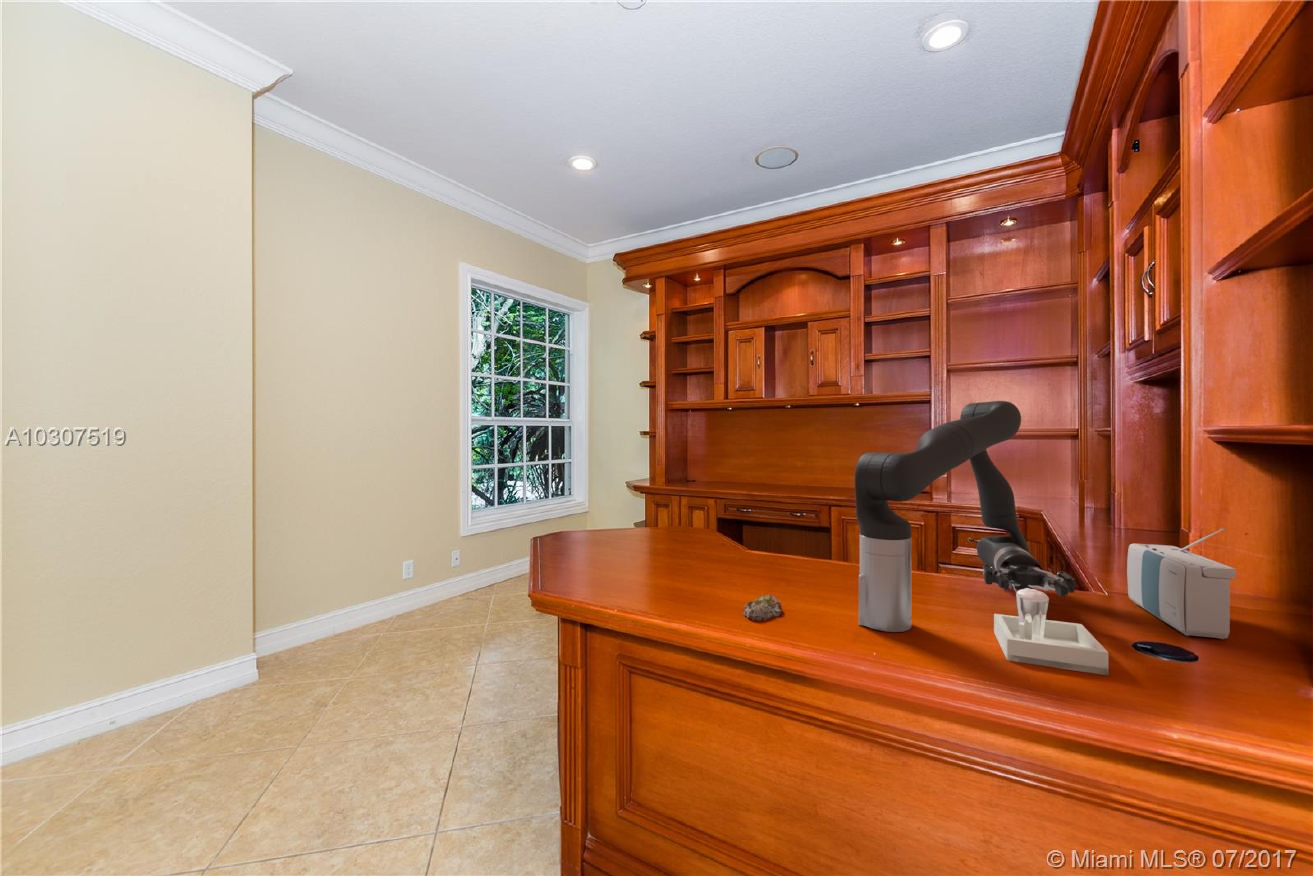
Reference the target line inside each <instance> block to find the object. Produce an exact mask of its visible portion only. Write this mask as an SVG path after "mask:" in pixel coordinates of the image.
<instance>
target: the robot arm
mask: <svg viewBox="0 0 1313 876" xmlns="http://www.w3.org/2000/svg"><path fill="white" fill-rule="evenodd" d="M959 417H960V418H959V419H956V420H952V421H948V422H943V423H942V424H939V425H937V426H935V427H933V428H931V429H929V430H927V431H926V432H925V433H923V435H921V436H920V438H919V440H918V441H917V446H916V450H913V451H910V452H904V453H903V452H901V453H900V452H878V451H877V452H875V451H874V452H866V453H864V454H862V455H861V456H860V457H859V458H858V460H857V462H856V465H855V469H854V470H855V471H854V495H855V497H854V498H855V499H854V500H855V514H856V515H855V516H856V521H857V523H858V526H859V575H858V625H859V626H863V627H864V626H865V627H868V628H870V629H872V630H877V631H880V632H881V631H882V632H888V633H901V632H906V631H909V630H911V628H912V617H913V616H912V525H911V523H910V521H908V520H907V519H905V518H903V517H902V516H901V515H898V514H897V513H896V512H895V511H893V510H892V508H891V507H890V506H889V502H897V503H901V502H908V501H910V500H913V499H914V498H915V497H917V496H918V495H920V494H921V493H922V492H923V491H924V490H926V489H927V488H928V487H929V486H931V484H932V483H934V481H936V480H937V479H939V478H940V477H942V476H944V475H945V474H947V473H948V472H949V471H951V470H953V469H955V468H957V467H959V466H961V465H962V464H964V463H965V462H968V461H969V462H970V463H969V464H970V465H971V469H972V471H973V474H974V478H975V482H976V485H977V491H978V498H979V505H980V513H981V520H982V523H983V525H984V526H985V527H988V528H991V529H998V530H1003V531H1006V532H1007V533H1008V534H1009V535H995V536H994V535H993V536H991V535H990V536H989V535H988V536H984V537H982V538H981V539H979V540H978V542H977V545H976V553H977V556H978V558H979V560H980V561H981V563H983V566H982V569H983V570H982V571H983V572H982V573H983V574H982V575H983V576H982V578H983V582H984V584H986V585H993V583H995V585H996V586H998V587H999V588H1000V589H1002V590H1003V591H1005V592H1009V591H1010V588H1011V589H1013V590H1015V589H1016V591H1019V590H1022V589H1025V588H1029V589H1039V590H1042V591H1045V592H1046V591H1047V592H1048V591H1054V592H1055V593H1056V595H1058V596H1059V597H1062V598H1063V597H1064V598H1065V597H1066V595H1067V596H1069V595H1070V594H1072V593H1075V592H1076V590H1075V581H1076V579H1075V578H1073V577H1072V576H1071V575H1069V574H1068V573H1067V572H1064V571H1057V573H1056V574H1054V573H1052V572H1051V571H1046V570H1044V568H1043V567H1042V565H1041V564H1040V563H1039V561H1038V560H1037V559H1036V558H1035V557H1034V556H1032V554H1031V549H1030V548H1029V544H1028V543H1027V540H1026V539H1025V537H1024V535H1023V533H1022V530H1021V528H1020V525H1019V521H1018V515H1017V508H1016V500H1015V495H1014V494H1015V493H1014V491H1013V489H1012V487H1011V485H1010V483H1009V481H1008V480H1007V479H1006V477H1005V476H1004V474H1002V472H1001V471H1000V470H999V469H998V467H997V466H996V465H995V464H994V462H993V460H992V459H991V457H990V455H989V453H988V450H987V449H988V448H991V447H993V446H994V445H997V444H1000V443H1003V442H1006V441H1009V440H1011V439H1012V438H1014V437H1015V436H1016V434H1017V433H1018V432H1019V430H1020V427H1021V423H1022V415H1021V412H1020V410H1019V408H1018V407H1017V406H1016V405H1015V404H1014V403H1012V402H1011V401H1006V400H996V401H994V400H992V401H982V402H981V401H980V402H973V403H972V402H971V403H968V404H966V405H965V406H963V408H962V410H961V412H960V416H959ZM1054 582H1055V584H1054ZM1012 583H1013V585H1014V587H1015V589H1014V587H1013V585H1012Z"/></svg>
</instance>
